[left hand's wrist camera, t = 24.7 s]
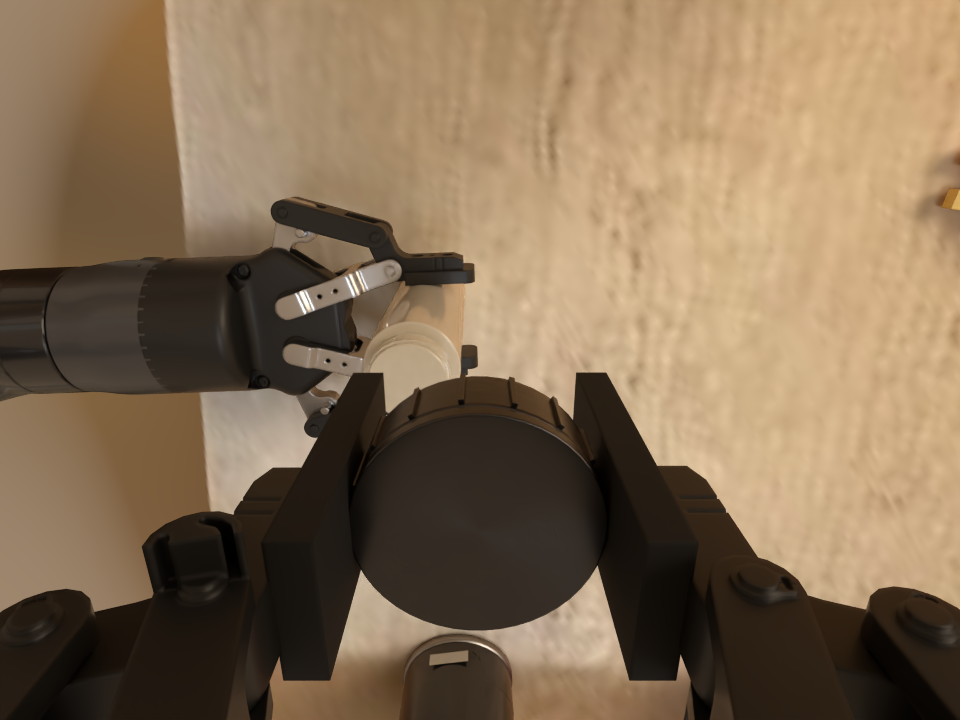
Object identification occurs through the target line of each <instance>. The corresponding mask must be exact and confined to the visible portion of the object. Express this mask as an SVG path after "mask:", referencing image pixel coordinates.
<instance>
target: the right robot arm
mask: <svg viewBox="0 0 960 720" xmlns="http://www.w3.org/2000/svg"><path fill="white" fill-rule="evenodd" d="M271 215H272V217H273V219H274V220H275V221H276V225H275V232H274V239H273V246H272V247H271V248H269V249H266V250H264V251H263V252H262V253H260V254H257V255H251V256H227V257H201V258H175V259H164V258H160V257H147V258H143V259H140V260H125V261H116V262H109V263H103V264H98V265H93V266H83V267H58V268H33V269H11V270H0V401H3V400H7V399H11V398H14V397H18V396H22V395H26V394H45V393H46V394H48V393H74V392H108V393H117V394H164V393H193V392H219V391H246V390H258V389H266V388H270V389H276V390H279V391H282V392H284V393H286V394H289V395H294V396H297V398H298V400H299V402H300V404H301V406H302V408H303V410H304V412H305V414H306V416H307V418H308V420H307V421H306V423H305V425H304V430H305V432H306V434H307V435H309V436H310V437H314V438H317V437H319V435H320V433H321V431H322V429H323V427H324V426H325V424H326V422H327V420H328V418H329V416H330V415H331V413H332V411H333V409H334V407H335V405H336V404H337V402H338V400H339V398H340V395H339V394H338V393H337V392H335V391H332V390H329V391H321V390H319V389H317V388H316V387H315V386H316V385H317V384H319V383H320V382H321V381H322V380H324V379H325V378H326V377H327V376H329V375H330V374H331V373H333V372H334V373H338V374H343V375H347V376H352V374H353V373H364V372H363V359H364V354H365V351H366V348H367V347H368V345H369V343H370V341H371V338H366V337H362V336H358V335H357V332H356V327H355V324H354V322H353V319H352V317H351V311H352V305H353V297H356V296H358V295H360V294H362V293H364V292H366V291H369V290H372V289H375V288H378V287H381V286H384V285H386V284H389V283H392V282H395V281H405V286H414V285H440V284H466V283H473V282H475V272H474V264H472V263H463V255H460V254H457V253H454V252H448V253H422V254H408V253H405V252H403V251H402V250H401V249H400V248H399V247H398V245H397V243H396V240H395V238H394V236H393V229H392V226H391V225H390V224H389V223H388V222H387V221H384V220H381V219H377V218H373V217H370V216H366V215H362V214H359V213H355V212H351V211H347V210H344V209H340V208H336V207H333V206H329V205H325V204H322V203H318V202H314V201H311V200H307V199H303V198H300V197H291V198H286V199H282V200H279V201H277V202H275V203H274V204H273V205H272V207H271ZM318 234H319V235H323V236H327V237H331V238H334V239H338V240H342V241H346V242H349V243H353V244H357V245H361V246H364V247H368V248H369V249H370V251H371V253H372V255H373V257H374V259H372V260H369V261H366V262H361V263H357V264H354V265H352V266H349V267H346V268H343V269H340V270H337V271H334V272H331V271H330V270H328V269H326V268H325V267H323V266H322V265H320V264H318V263H317V262H315V261H314V260H312V259H310V258H309V257H307V256H306V255H304V254H302V253H301V252H299V251H298V250H296V249H294V248H295V245H296V244H297V243H298V242H302V243H307V242H310V241H311V240H313V239H315V238H316V237H317V236H318ZM477 366H478V356H477V346H475V345H462V360H461V374H466V375H468V369H473V368H476V367H477ZM388 414H389V413H388V412H386V415H388ZM403 683H404V688H403V696H402V704H401V710H400V717H399V720H514V717H513V716H514V714H513V701H512V671H511V666H510V663H509V661H508V659H507V658H506V656H505V655H504V653H503V652H502V651H501V650H500V649H499V648H497V647H496V646H495V645H493V644H492V643H490V642H488V641H486V640H484V639H481V638H478V637H474V636H469V635H447V636H442V637H438V638H435V639H432V640H430V641H428V642H426V643H424V644H423V645H421V646H420V647H419V648H417V649H416V650H415V651H414V652H413V654H412V655H411V656H410V658H409V659H408V661H407V663H406V666H405V671H404V679H403Z"/></svg>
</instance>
